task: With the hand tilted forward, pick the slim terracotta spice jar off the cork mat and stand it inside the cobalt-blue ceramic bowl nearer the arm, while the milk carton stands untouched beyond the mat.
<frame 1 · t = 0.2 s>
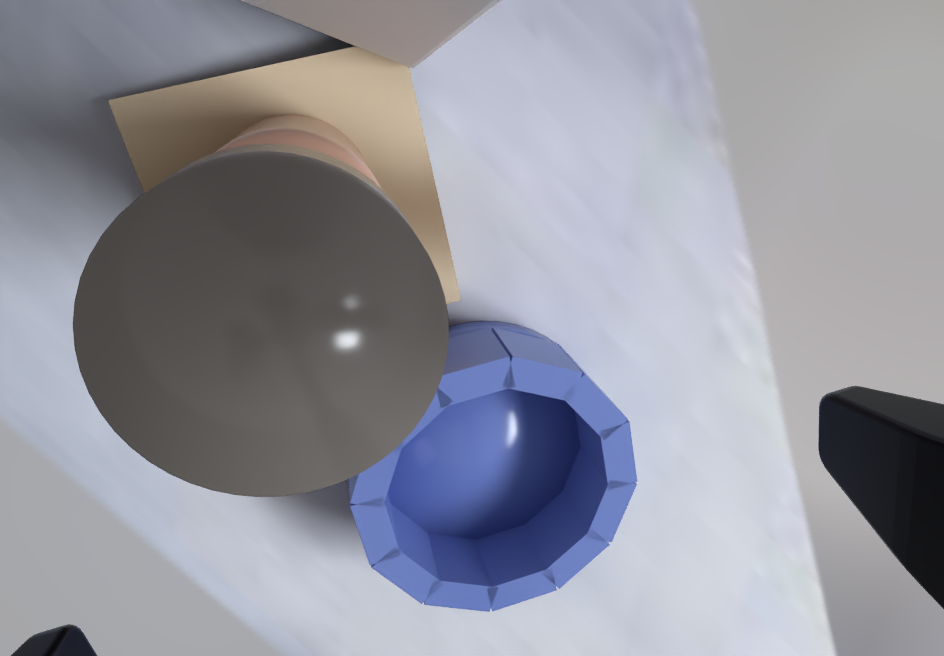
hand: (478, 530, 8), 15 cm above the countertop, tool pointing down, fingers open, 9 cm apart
cork mat: (302, 206, 20), on the countertop
bowl: (476, 438, 24), on the countertop
spice jar: (297, 193, 20), point 1 cm above the countertop, touching cork mat
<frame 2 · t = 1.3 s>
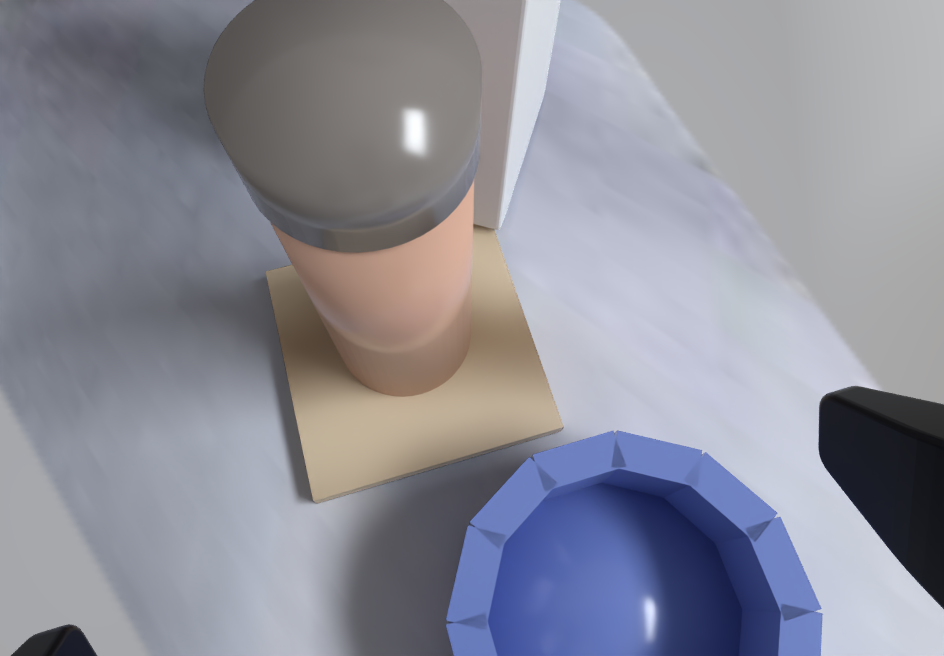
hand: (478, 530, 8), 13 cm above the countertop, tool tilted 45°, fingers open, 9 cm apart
cork mat: (409, 352, 23), on the countertop
milk carton: (433, 141, 26), on the countertop, touching cork mat
bowl: (607, 613, 20), on the countertop
spice jar: (404, 332, 22), point 1 cm above the countertop, touching cork mat
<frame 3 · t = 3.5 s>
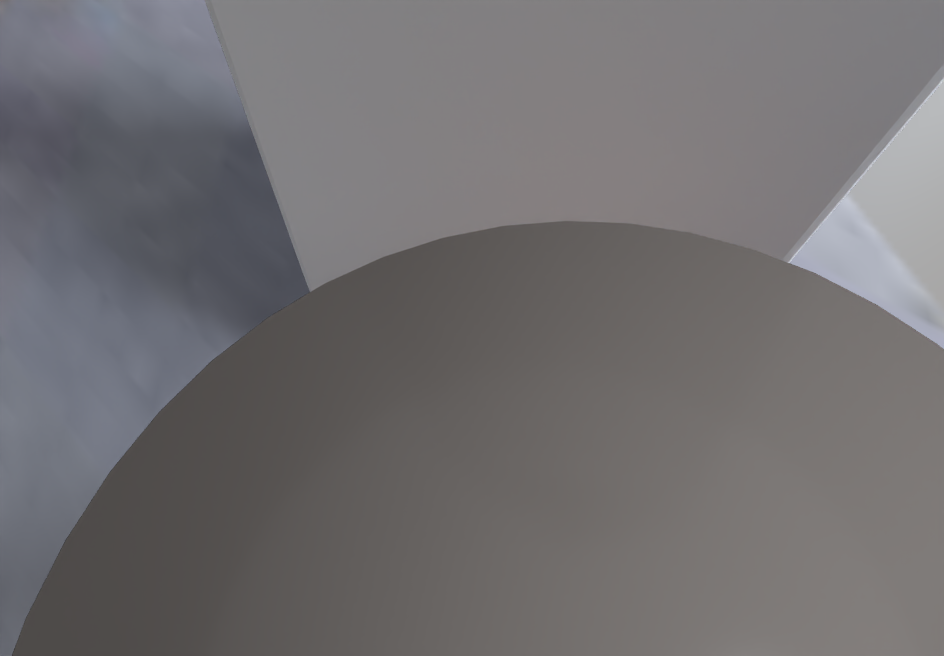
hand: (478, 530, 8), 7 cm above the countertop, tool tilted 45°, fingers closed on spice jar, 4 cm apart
milk carton: (518, 278, 17), on the countertop, touching cork mat
spice jar: (492, 627, 14), point 1 cm above the countertop, touching cork mat, gripper
when the fingers open (9 cm above the countertop, at t = 6.4 s): spice jar drops 1 cm, resting on bowl.
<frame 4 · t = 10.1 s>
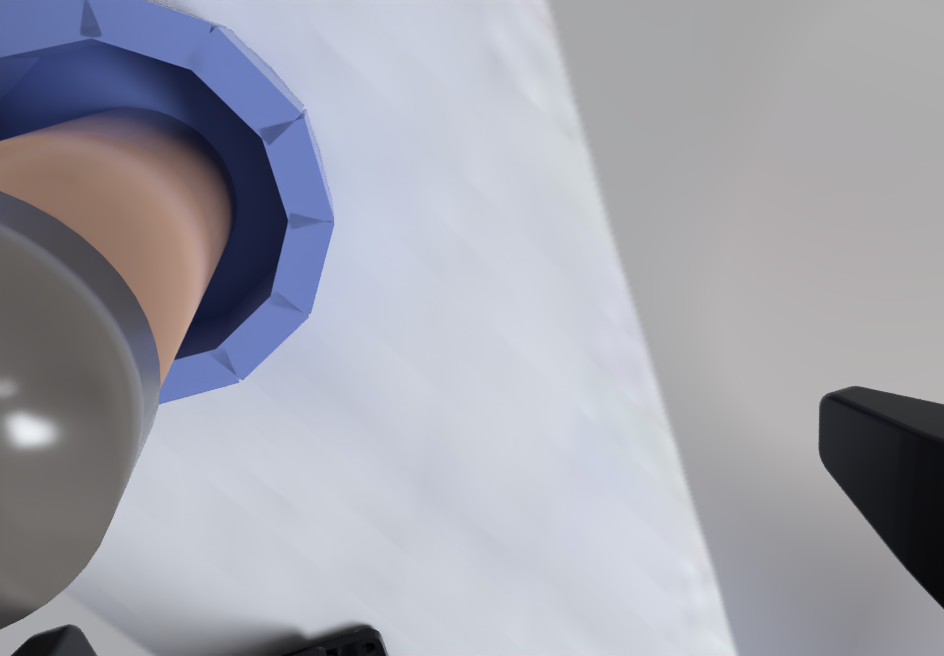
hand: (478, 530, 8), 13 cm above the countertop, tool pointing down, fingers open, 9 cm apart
bowl: (151, 189, 18), on the countertop
spice jar: (144, 199, 17), point 1 cm above the countertop, touching bowl
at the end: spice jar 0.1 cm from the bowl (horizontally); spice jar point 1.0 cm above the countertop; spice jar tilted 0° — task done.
